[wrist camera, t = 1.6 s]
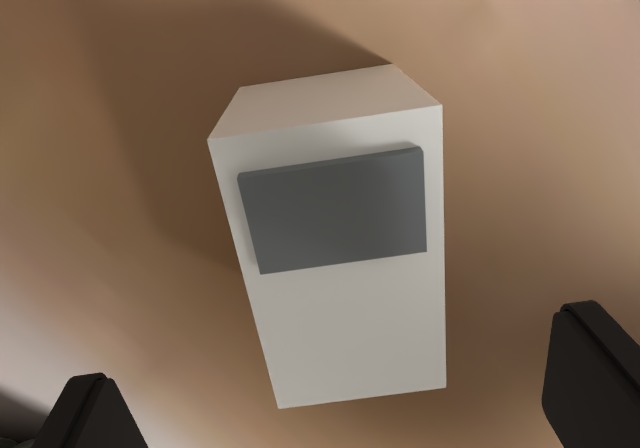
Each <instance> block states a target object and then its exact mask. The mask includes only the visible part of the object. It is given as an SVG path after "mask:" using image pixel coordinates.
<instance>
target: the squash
mask: <svg viewBox="0 0 640 448" xmlns="http://www.w3.org/2000/svg"><path fill="white" fill-rule="evenodd" d="M34 441H35V439H29V440H27V441H24V442H22V443H20V444H18V443H17V442H16V441H14V440H11V439H9V438H4V437H0V448H31V447H32V445H33V443H34Z"/></svg>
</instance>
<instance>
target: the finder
mask: <svg viewBox="0 0 640 448" xmlns="http://www.w3.org/2000/svg"><path fill="white" fill-rule="evenodd" d="M207 143H208V146H209V150H210V154H211V158H212V161H213V165H214V169H215V173H216V176H217V180H218V184H219V188H220V191H221V195H222V199H223V203H224V206H225V210H226V214H227V218H228V222H229V225H230V229H231V233H232V237H233V240H234V244H235V248H236V252H237V255H238V259H239V263H240V267H241V270H242V274H243V278H244V282H245V285H246V289H247V293H248V297H249V300H250V304H251V308H252V312H253V315H254V319H255V323H256V327H257V331H258V334H259V338H260V342H261V346H262V349H263V353H264V357H265V361H266V364H267V368H268V372H269V376H270V379H271V383H272V387H273V391H274V394H275V398H276V402H277V406H278V409H283V408H291V407H299V406H307V405H315V404H323V403H330V402H338V401H346V400H354V399H362V398H370V397H377V396H385V395H393V394H401V393H409V392H417V391H424V390H432V389H440V388H446V332H445V262H444V192H443V123H442V104H441V103H440V102H438V101H437V100H436V99H435V98H434V97H432V96H431V95H430V94H429V93H428V92H426V91H425V90H424V89H423V88H422V87H420V86H419V85H418V84H417V83H416V82H414V81H413V80H412V79H411V78H410V77H408V76H407V75H406V74H405V73H404V72H402V71H401V70H400V69H399V68H398V67H396V66H395V65H394V64H388V65H381V66H374V67H368V68H361V69H355V70H348V71H342V72H335V73H329V74H322V75H316V76H309V77H303V78H296V79H289V80H283V81H276V82H270V83H263V84H257V85H250V86H244V87H240V88H239V89H238V91H237V92H236V94H235V96H234V97H233V99H232V100H231V102H230V104H229V105H228V107H227V108H226V110H225V112H224V113H223V115H222V116H221V118H220V120H219V121H218V123H217V124H216V126H215V128H214V129H213V131H212V132H211V134H210V136H209V137H208V139H207Z"/></svg>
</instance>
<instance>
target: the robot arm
mask: <svg viewBox="0 0 640 448" xmlns="http://www.w3.org/2000/svg"><path fill="white" fill-rule="evenodd" d="M542 407H543V410H544V413H545V415H546V417H547V419H548V421H549V423H550V424H551V426H552V428H553V430H554V431H555V433H556V435H557V436H558V438H559V440H560V441H561V443H562V445H563V447H564V448H640V346H639V345H638V344H637V343H636V342H635V341H634V340H633V339H632V338H631V337H630V336H629V335H628V334H627V333H626V332H625V331H624V330H623V329H622V327H621V326H620V325H619V324H618V323H617V322H616V321H615V320H614V319H613V318H612V317H611V316H610V315H609V314H608V313H607V312H606V311H605V310H604V309H603V308H602V306H601V305H600V304H598V303H597V302H596V301H593V300H589V301H582V302H576V303H569V304H564V305H563V306H562V307H561V309H560V312H557V313H555V314H554V316H553V322H552V329H551V336H550V343H549V350H548V358H547V365H546V372H545V379H544V386H543V394H542ZM31 448H148V446H147V444H146V442H145V440H144V438H143V436H142V434H141V432H140V430H139V428H138V426H137V424H136V422H135V420H134V418H133V416H132V414H131V413H130V411H129V409H128V407H127V405H126V403H125V401H124V399H123V397H122V395H121V393H120V391H119V389H118V387H117V385H116V383H115V381H114V380H113V379H112V378H108V379H107V377H106V376H105V374H103V373H93V374H87V375H80V376H73V377H72V378H70V379H69V381H68V382H67V383H66V385H65V387H64V389H63V391H62V392H61V394H60V396H59V398H58V400H57V401H56V403H55V405H54V407H53V409H52V410H51V412H50V414H49V416H48V418H47V419H46V421H45V423H44V425H43V427H42V429H41V430H40V432H39V434H38V436H37V438H36V439H35V441H34V443H33V445H32V447H31Z"/></svg>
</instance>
